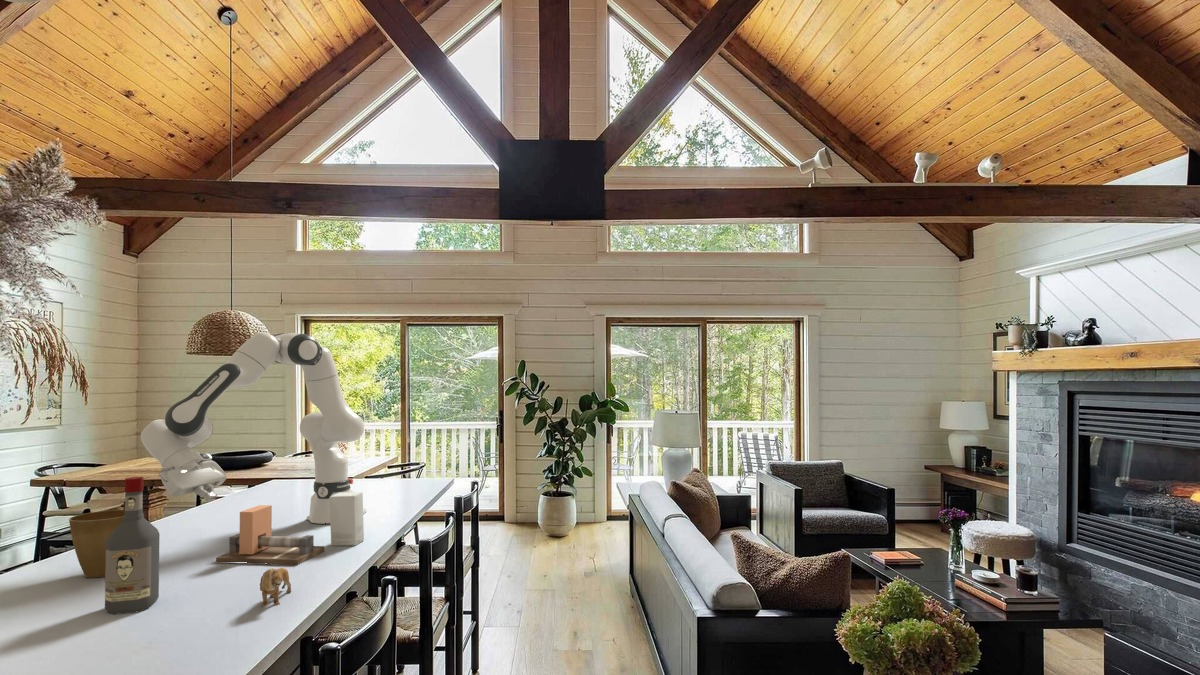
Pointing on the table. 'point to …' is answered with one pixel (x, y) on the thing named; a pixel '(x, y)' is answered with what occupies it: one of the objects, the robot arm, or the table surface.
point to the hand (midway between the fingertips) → (212, 498)
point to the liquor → (132, 557)
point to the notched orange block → (254, 528)
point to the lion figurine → (274, 584)
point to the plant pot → (93, 539)
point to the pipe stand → (274, 550)
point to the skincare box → (346, 519)
